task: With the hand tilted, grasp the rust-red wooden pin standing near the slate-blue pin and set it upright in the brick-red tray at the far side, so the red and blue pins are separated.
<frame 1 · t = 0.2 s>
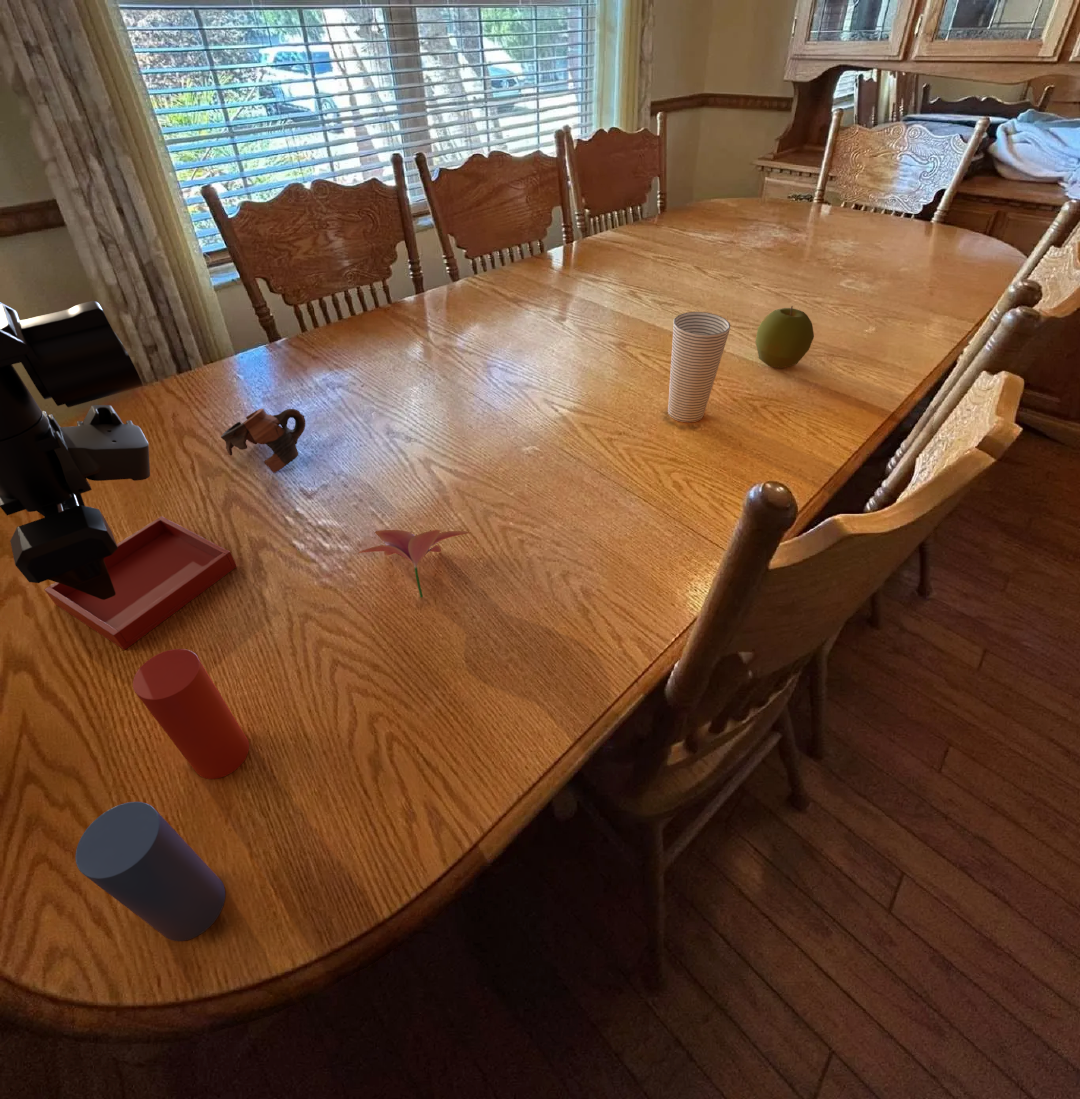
hand: (99, 567, 59), 14 cm above the table, tool pointing down, fingers open, 9 cm apart
lily: (419, 574, 78), on the table
red pin: (221, 754, 60), on the table
apple: (776, 364, 119), on the table
cup: (685, 414, 105), on the table
brown irregular piece: (274, 455, 97), on the table
blue pin: (192, 905, 50), on the table
red tray: (149, 585, 76), on the table
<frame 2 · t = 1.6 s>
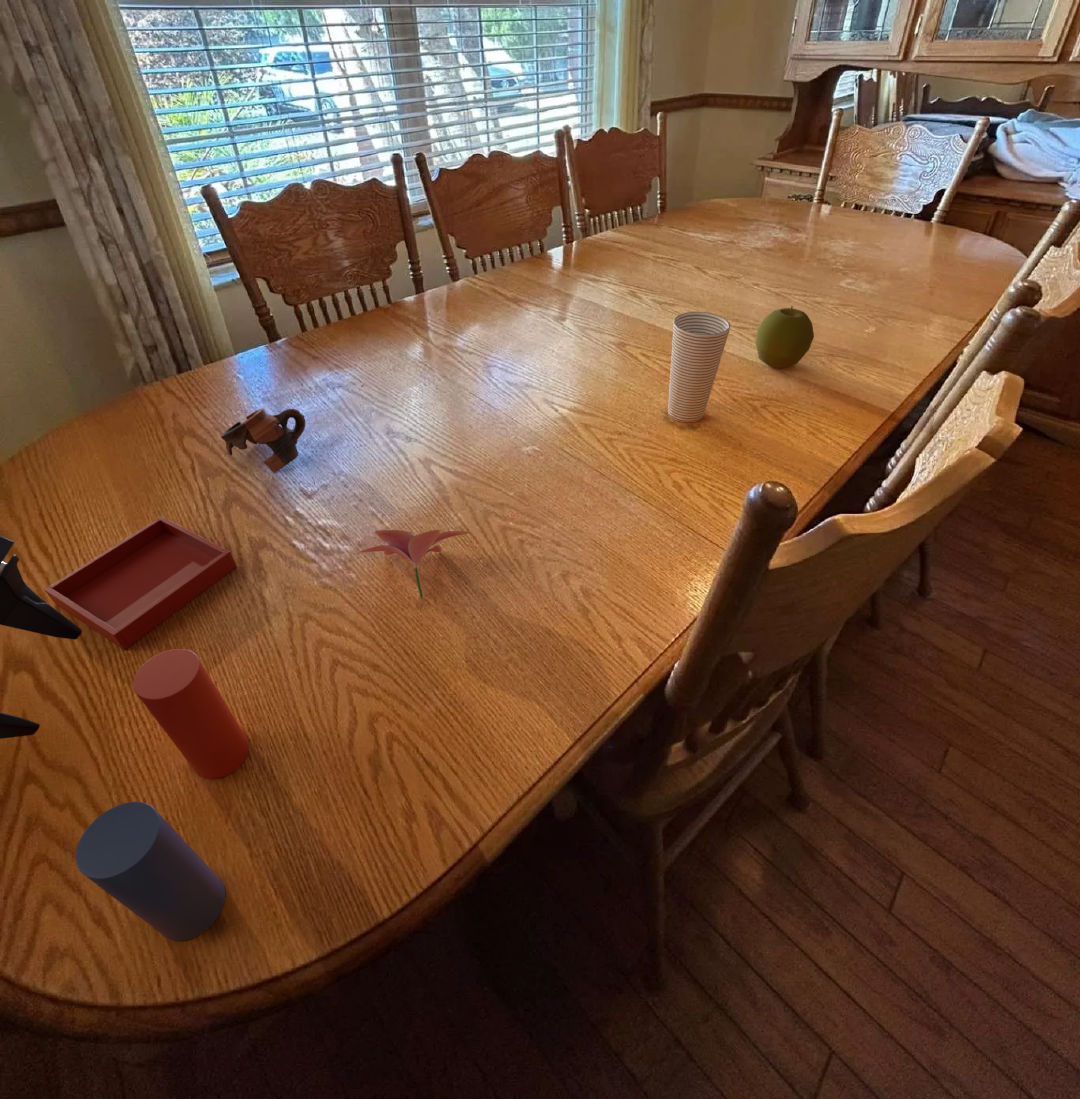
hand: (59, 679, 50), 13 cm above the table, tool tilted 45°, fingers open, 9 cm apart
nothing on the table moved.
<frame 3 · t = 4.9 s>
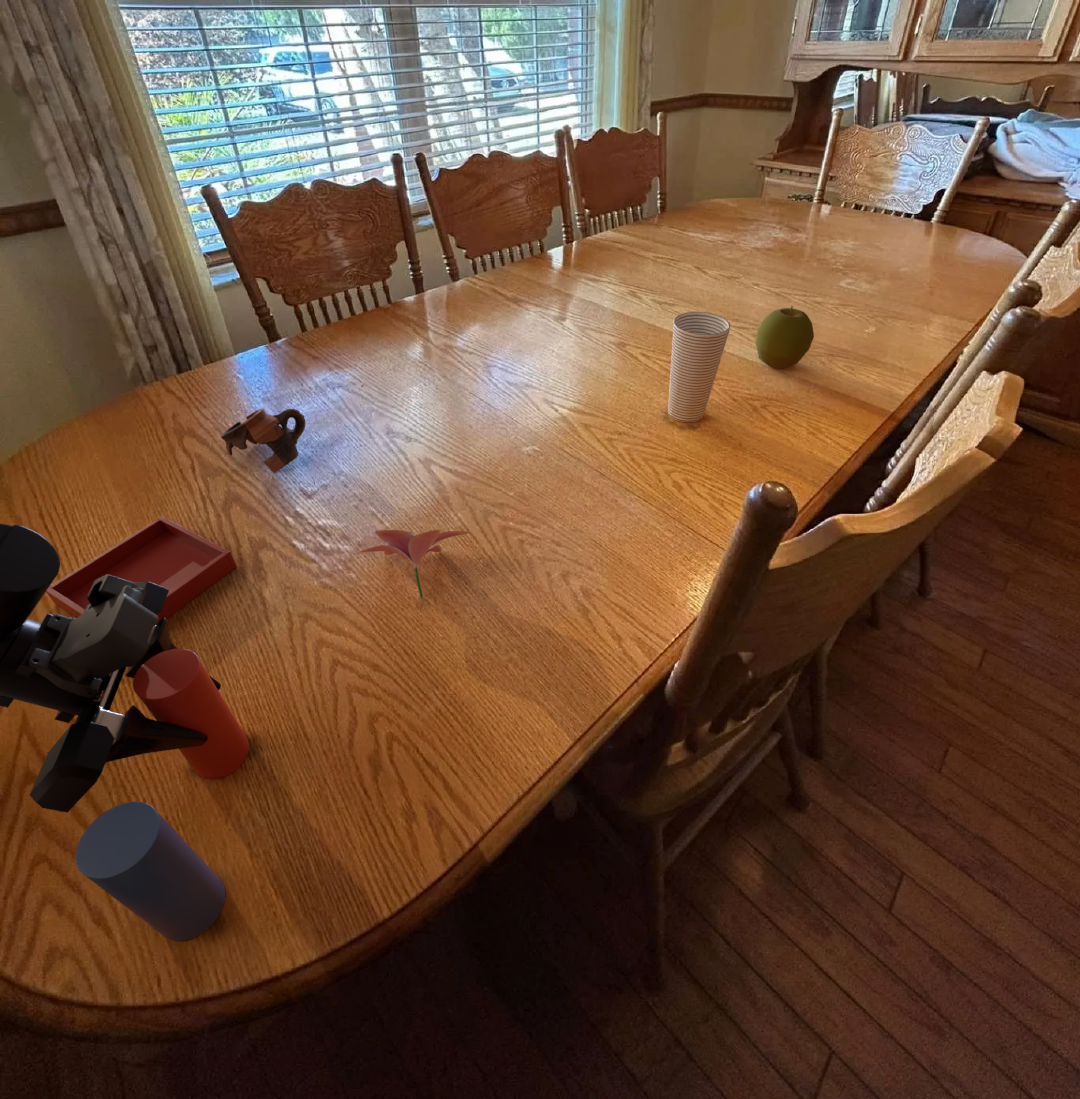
hand: (212, 714, 56), 7 cm above the table, tool tilted 45°, fingers closed on red pin, 5 cm apart
red pin: (221, 754, 60), on the table, touching gripper
everything else where it was.
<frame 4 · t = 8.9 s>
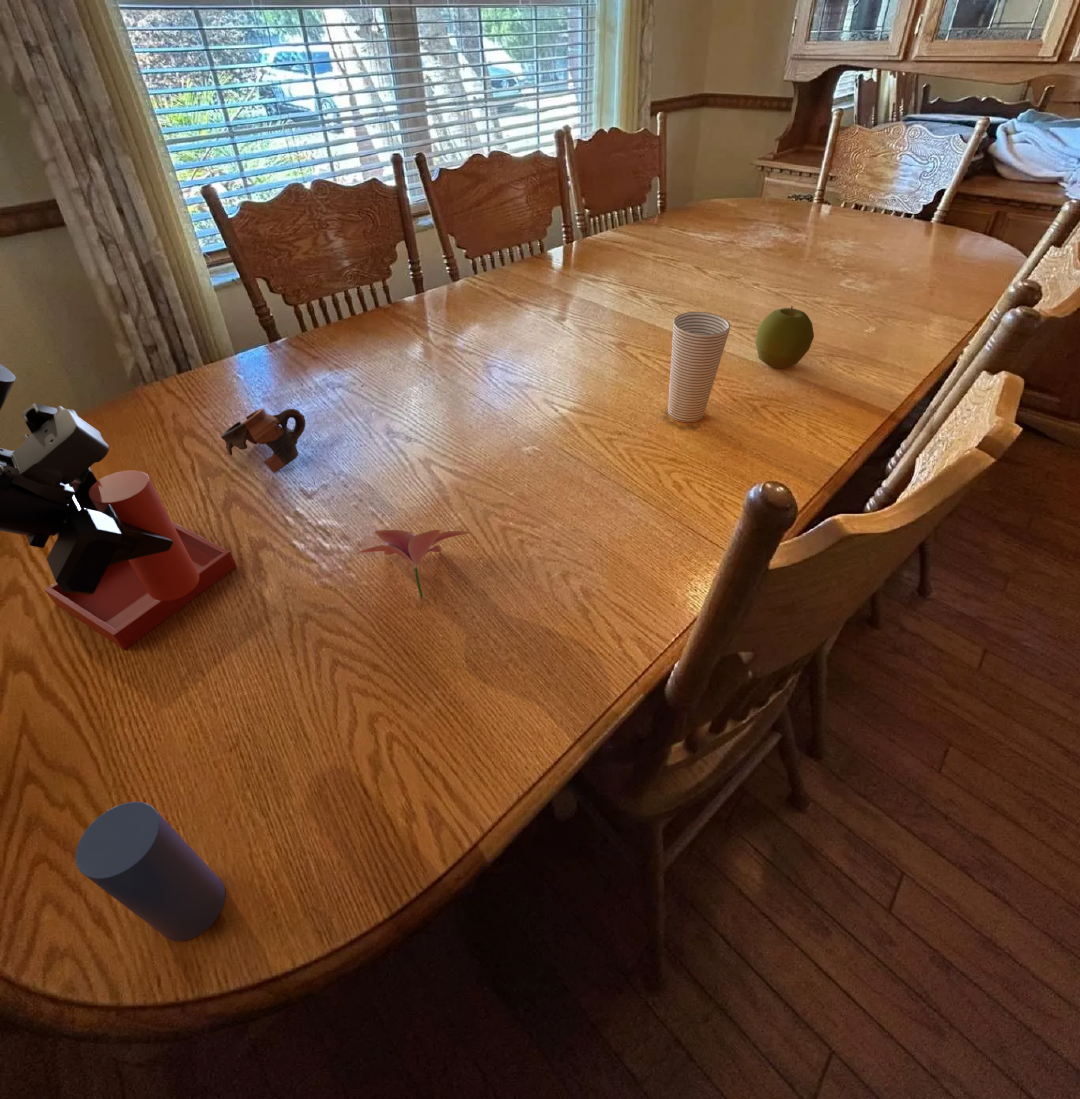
hand: (162, 531, 63), 13 cm above the table, tool tilted 45°, fingers closed on red pin, 5 cm apart
red pin: (174, 583, 67), point 7 cm above the table, touching gripper
everything else where it was.
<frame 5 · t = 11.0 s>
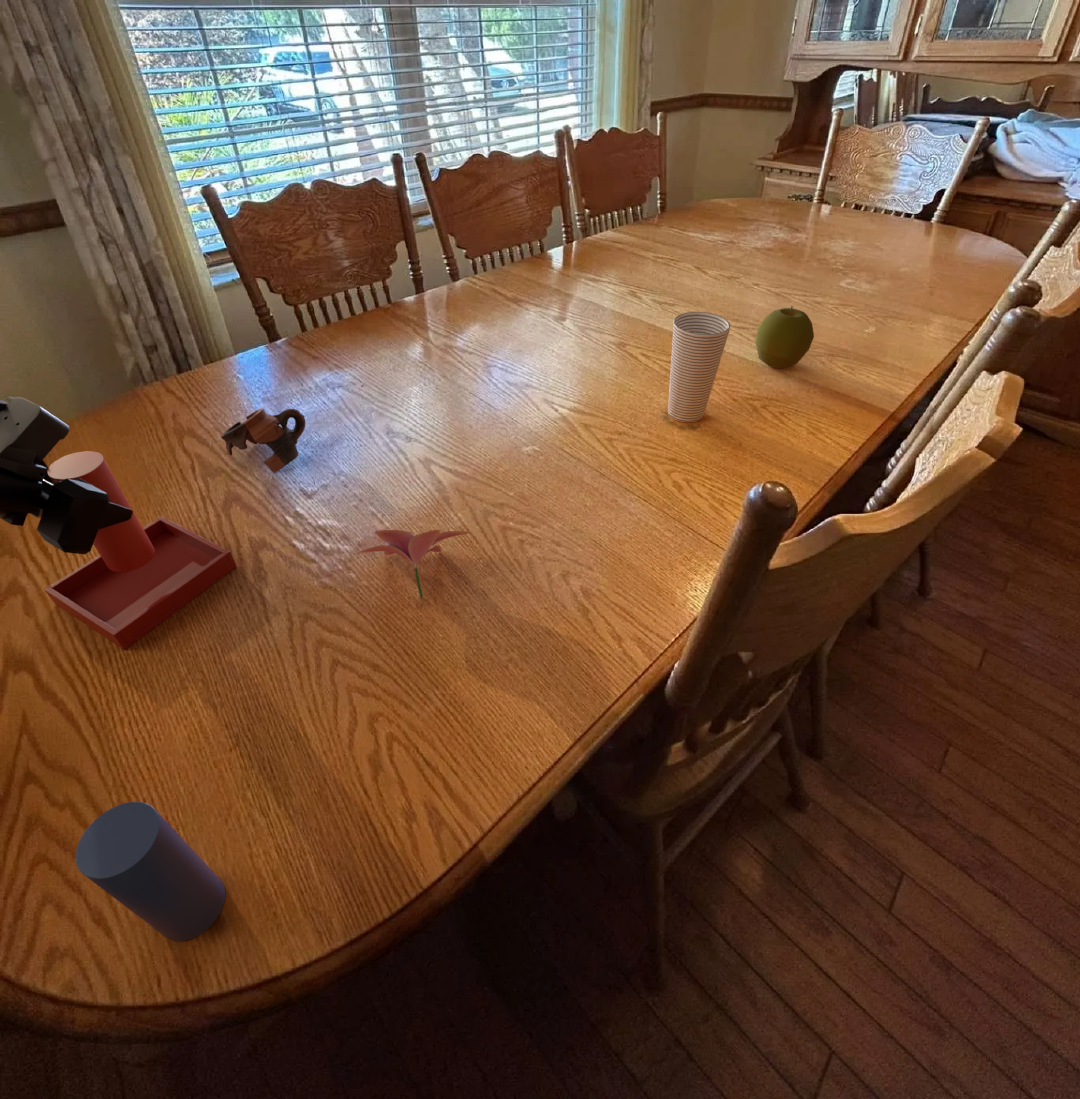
hand: (116, 506, 69), 11 cm above the table, tool tilted 45°, fingers closed on red pin, 5 cm apart
red pin: (131, 557, 73), point 5 cm above the table, touching gripper
everything else where it was.
when the fingers open (7 cm above the table, at t = 12.7 s): red pin stays where it is, resting on red tray.
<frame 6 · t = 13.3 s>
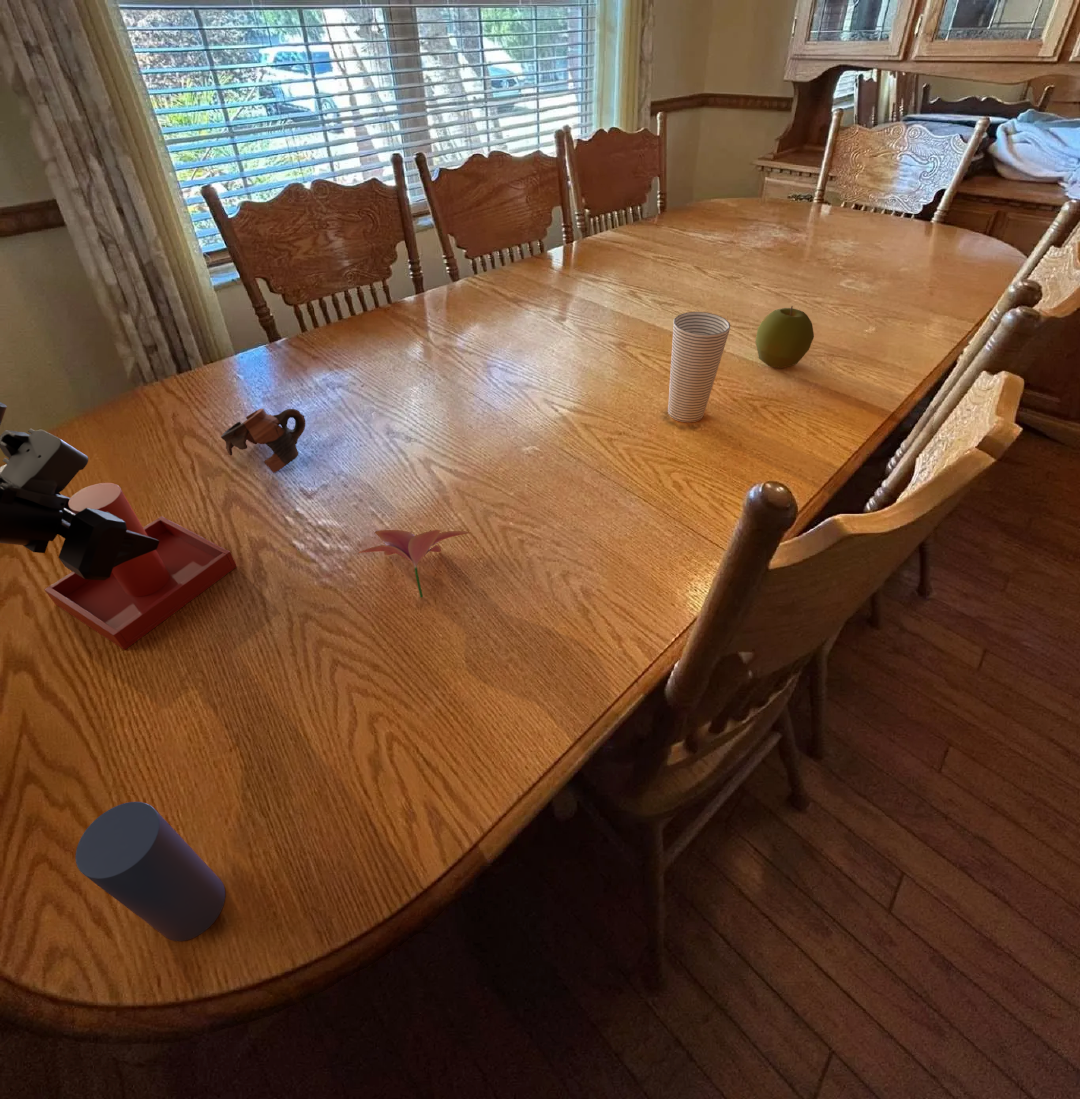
hand: (131, 530, 72), 8 cm above the table, tool tilted 45°, fingers open, 9 cm apart
red pin: (146, 581, 76), point 1 cm above the table, touching red tray
everything else where it was.
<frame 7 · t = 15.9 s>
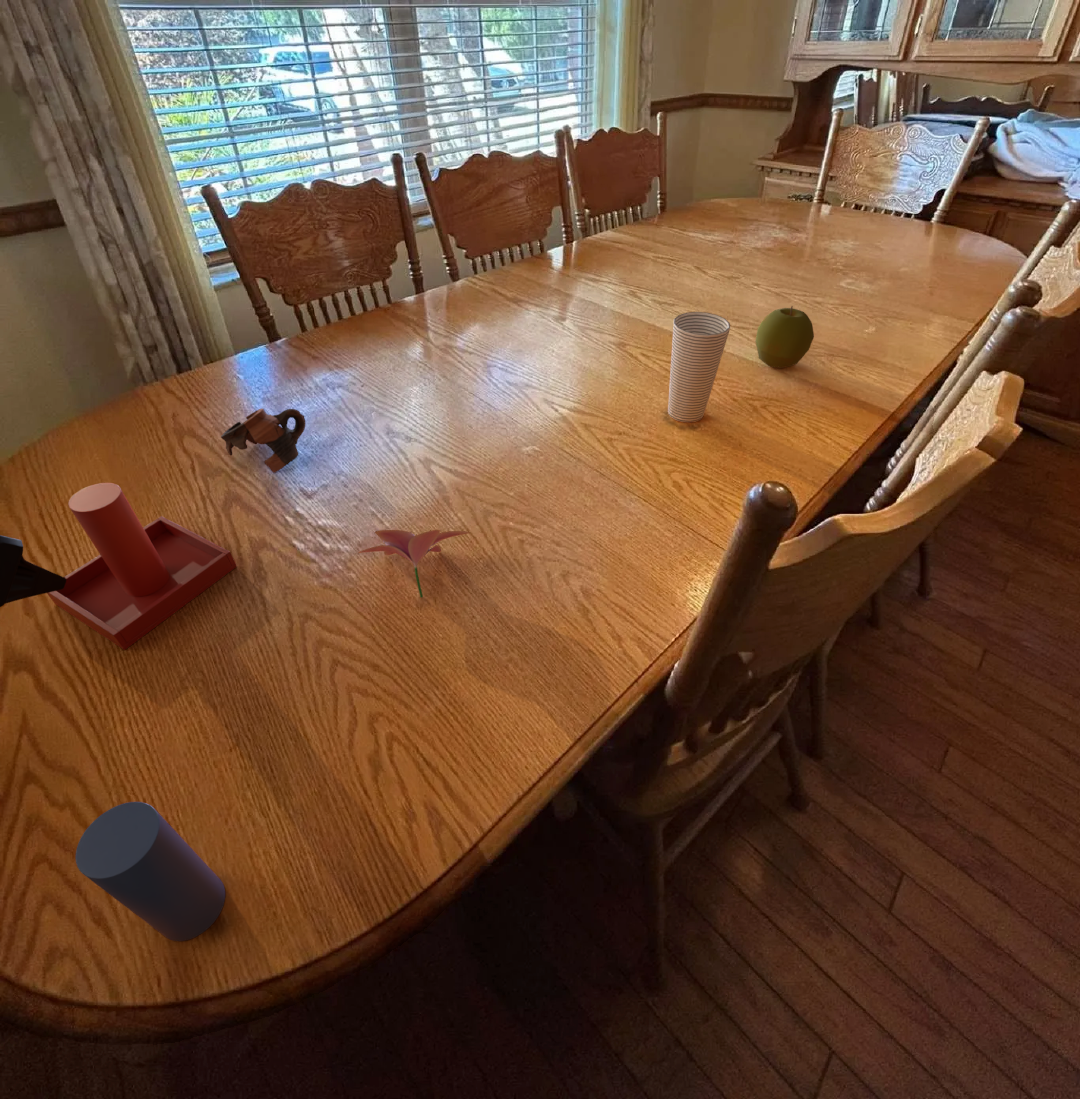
hand: (34, 577, 64), 9 cm above the table, tool tilted 35°, fingers open, 9 cm apart
nothing on the table moved.
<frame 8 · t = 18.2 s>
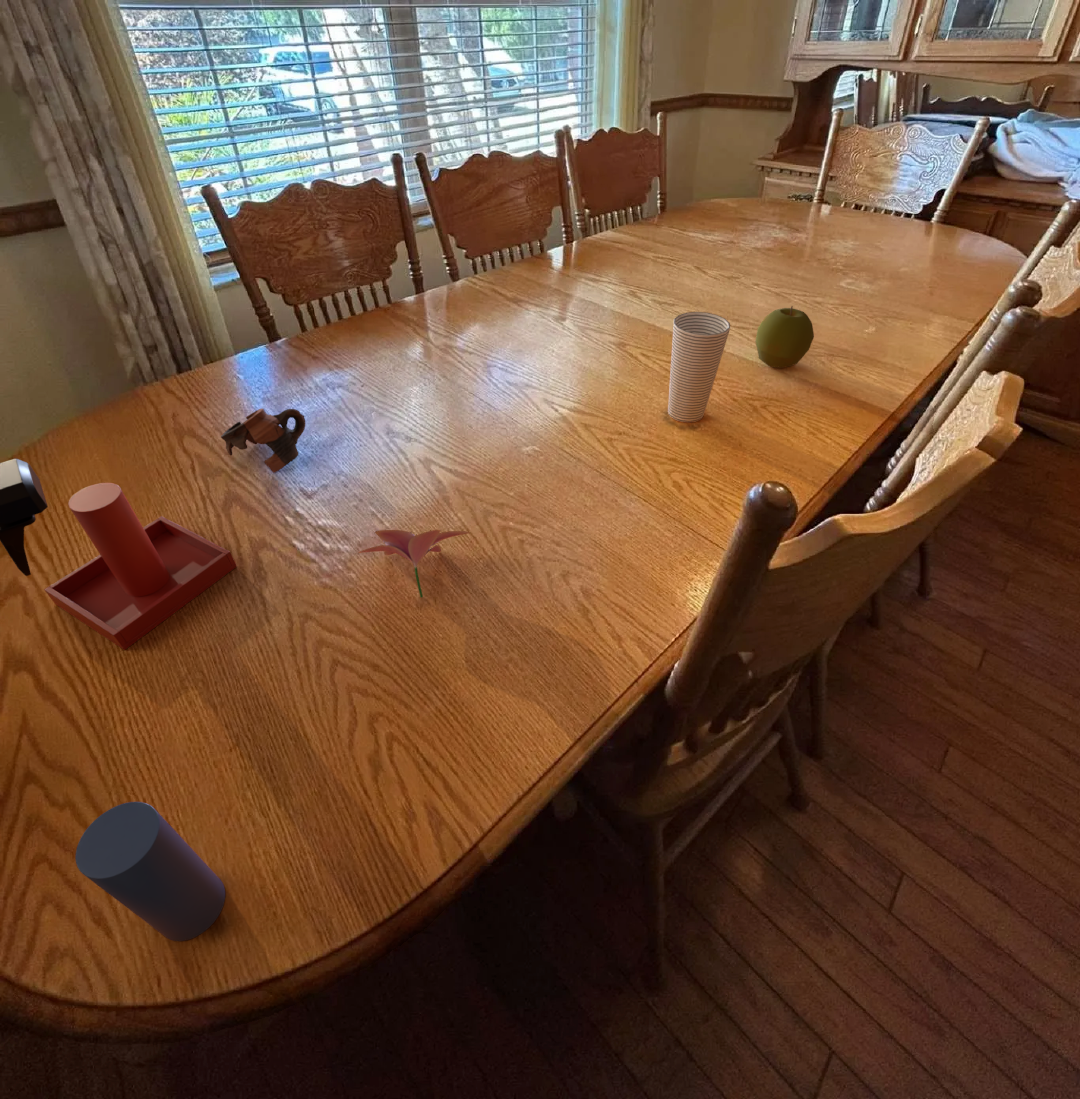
nothing on the table moved.
at the end: red pin inside the target area in the red tray (0.0 cm from its centre), point 0.6 cm above the red tray's base; red pin tilted 0°; blue pin moved 0.0 cm from its start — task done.
